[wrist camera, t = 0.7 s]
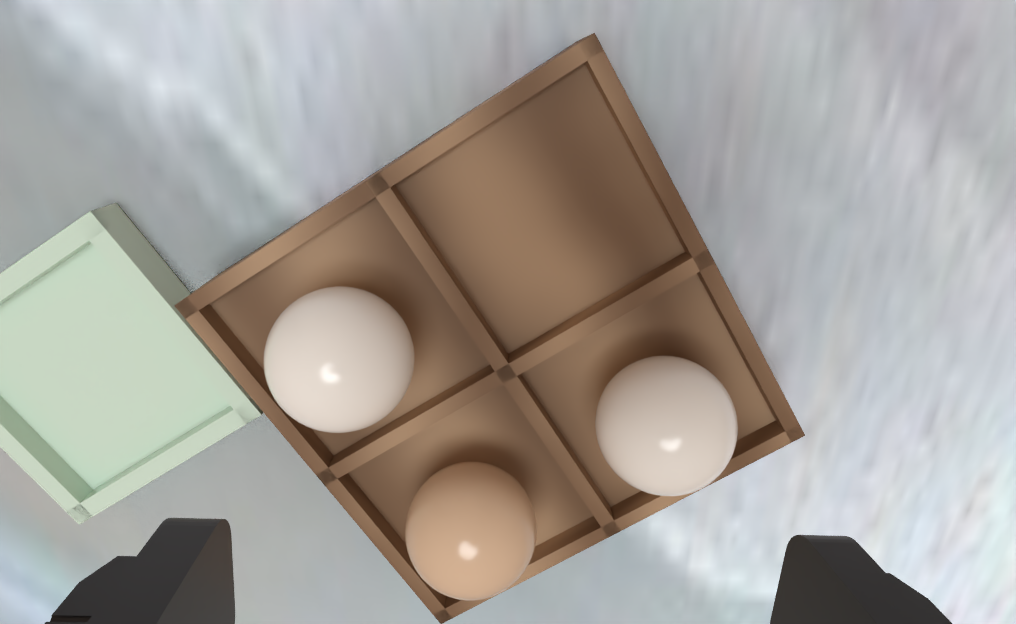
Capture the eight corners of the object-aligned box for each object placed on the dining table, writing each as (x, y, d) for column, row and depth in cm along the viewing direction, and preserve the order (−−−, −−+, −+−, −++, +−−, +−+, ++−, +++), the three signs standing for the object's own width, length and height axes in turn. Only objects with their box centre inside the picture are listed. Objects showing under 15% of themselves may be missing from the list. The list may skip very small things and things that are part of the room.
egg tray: (578, 40, 25) (594, 32, 21) (765, 391, 30) (805, 435, 26) (216, 275, 27) (174, 305, 23) (446, 562, 32) (441, 623, 28)
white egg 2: (676, 312, 25) (720, 365, 20) (731, 411, 26) (784, 481, 22) (563, 376, 26) (580, 441, 21) (623, 469, 27) (651, 549, 22)
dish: (116, 202, 26) (90, 211, 24) (274, 395, 29) (261, 414, 27) (-67, 328, 27) (-104, 345, 26) (101, 499, 30) (79, 524, 29)
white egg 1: (370, 244, 24) (341, 283, 19) (446, 351, 25) (437, 413, 21) (260, 313, 25) (206, 368, 20) (340, 414, 26) (308, 487, 21)
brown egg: (491, 416, 26) (493, 489, 22) (554, 505, 28) (568, 592, 23) (388, 474, 27) (367, 558, 22) (455, 558, 28) (448, 653, 24)
